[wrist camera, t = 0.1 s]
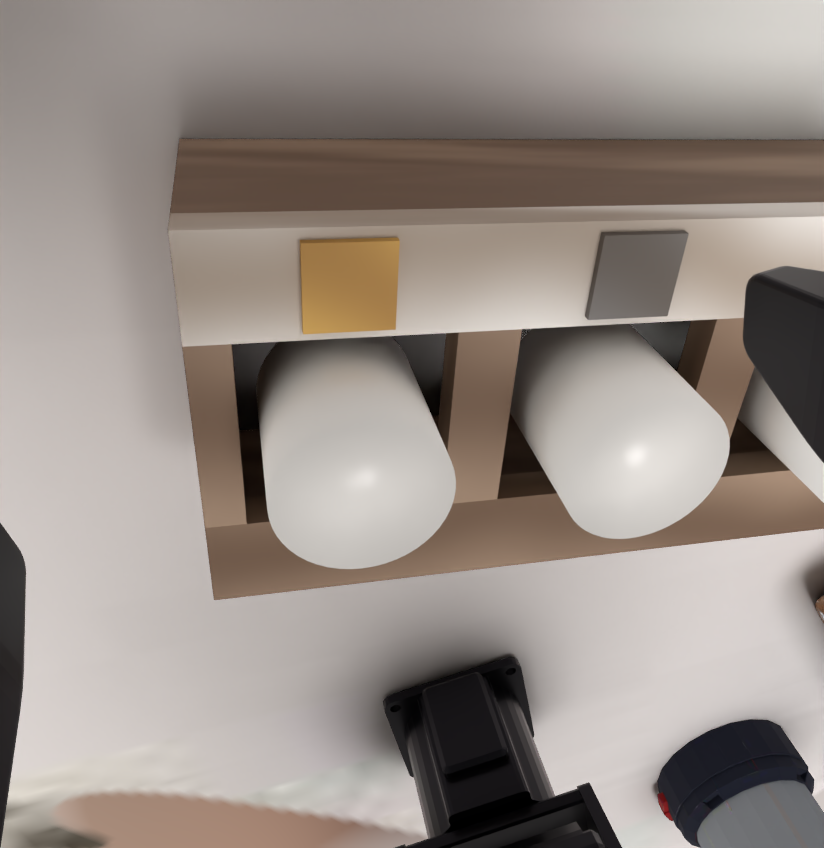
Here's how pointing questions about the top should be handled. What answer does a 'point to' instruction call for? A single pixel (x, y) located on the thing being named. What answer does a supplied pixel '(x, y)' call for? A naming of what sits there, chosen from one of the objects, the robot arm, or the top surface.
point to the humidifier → (742, 790)
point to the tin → (820, 607)
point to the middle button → (616, 428)
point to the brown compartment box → (481, 311)
